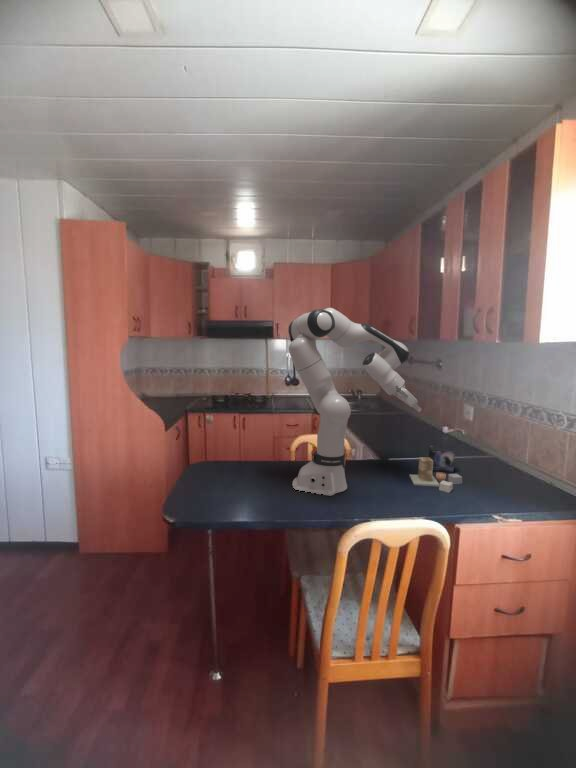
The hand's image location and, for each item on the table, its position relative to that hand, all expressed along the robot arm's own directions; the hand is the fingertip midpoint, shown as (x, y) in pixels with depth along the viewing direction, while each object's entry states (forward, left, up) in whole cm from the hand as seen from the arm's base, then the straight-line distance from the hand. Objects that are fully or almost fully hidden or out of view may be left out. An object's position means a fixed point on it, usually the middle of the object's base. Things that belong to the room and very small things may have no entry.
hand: (416, 408), depth 154 cm
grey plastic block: (+17, 0, -32) cm, 36 cm away
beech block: (+5, -1, -31) cm, 31 cm away
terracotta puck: (+12, +1, -31) cm, 34 cm away
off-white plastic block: (+11, -9, -32) cm, 35 cm away
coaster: (+4, -1, -31) cm, 32 cm away
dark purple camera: (+15, +14, -32) cm, 38 cm away
